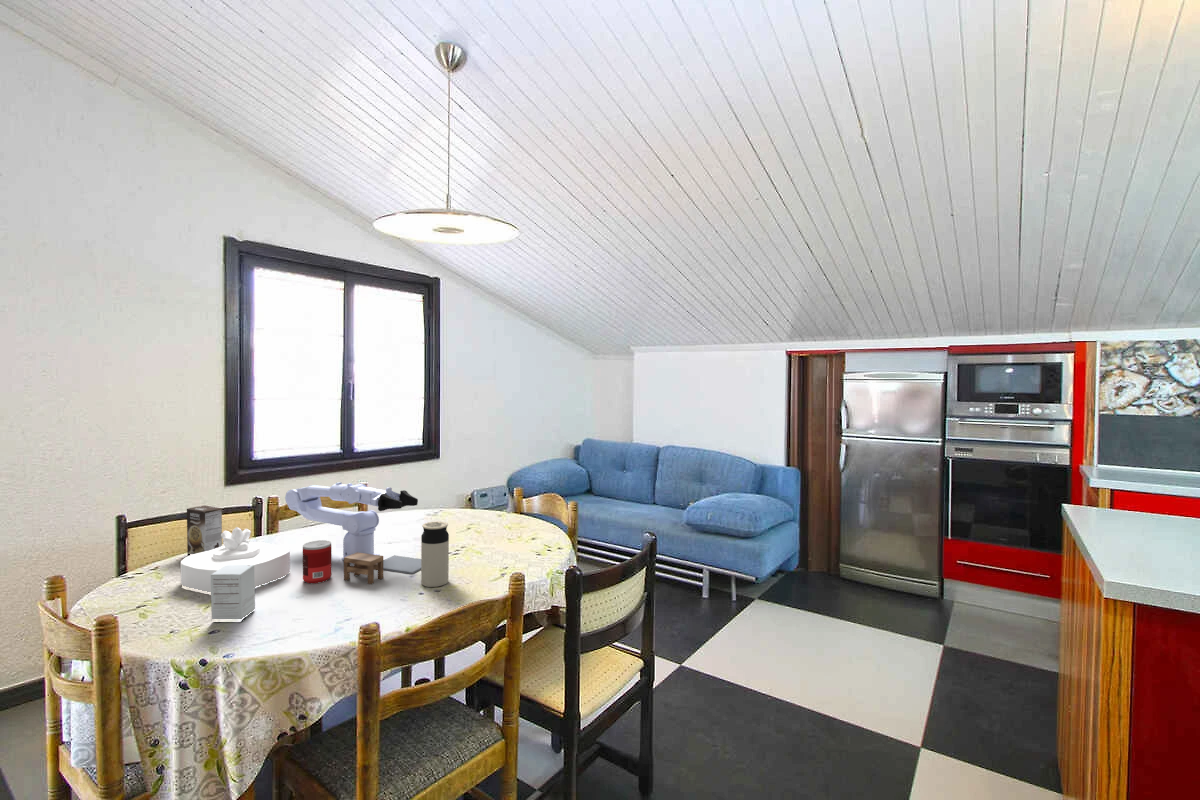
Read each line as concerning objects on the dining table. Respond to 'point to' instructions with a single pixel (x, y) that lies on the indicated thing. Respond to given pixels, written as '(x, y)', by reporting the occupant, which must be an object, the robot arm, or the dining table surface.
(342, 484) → the robot arm
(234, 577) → the supplement box
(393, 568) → the mat
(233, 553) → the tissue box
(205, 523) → the coffee box
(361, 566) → the stool
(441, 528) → the travel mug
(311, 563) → the canned food
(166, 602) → the dining table surface
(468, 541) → the dining table surface
